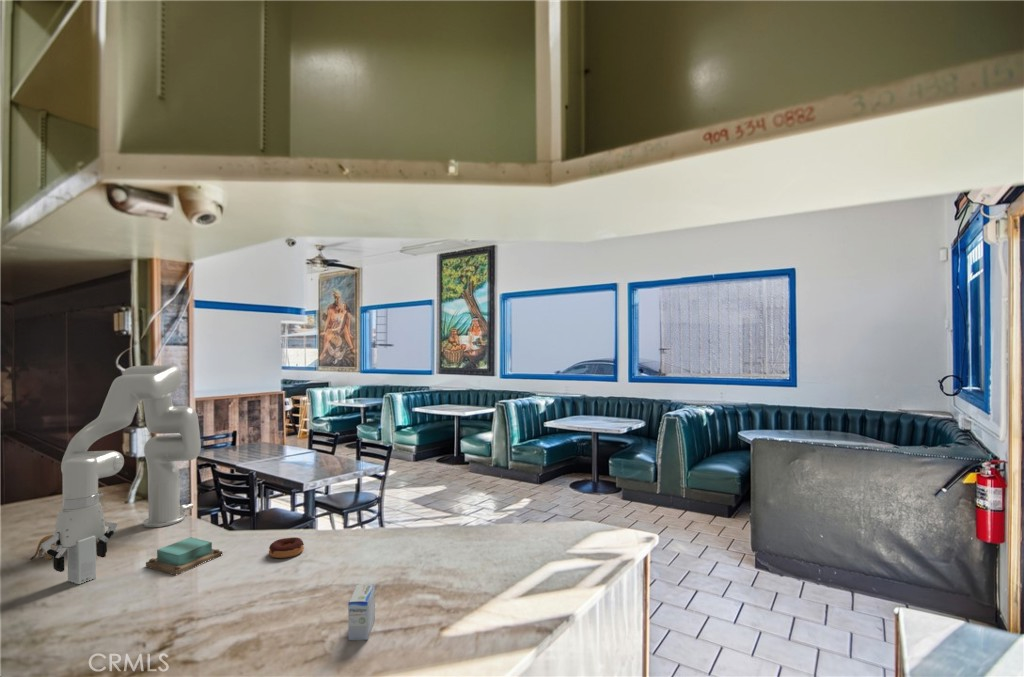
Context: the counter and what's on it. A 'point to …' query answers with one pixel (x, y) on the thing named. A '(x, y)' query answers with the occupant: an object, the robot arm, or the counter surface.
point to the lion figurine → (42, 549)
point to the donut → (286, 547)
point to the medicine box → (361, 612)
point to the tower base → (181, 568)
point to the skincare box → (82, 561)
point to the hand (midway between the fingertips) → (81, 563)
